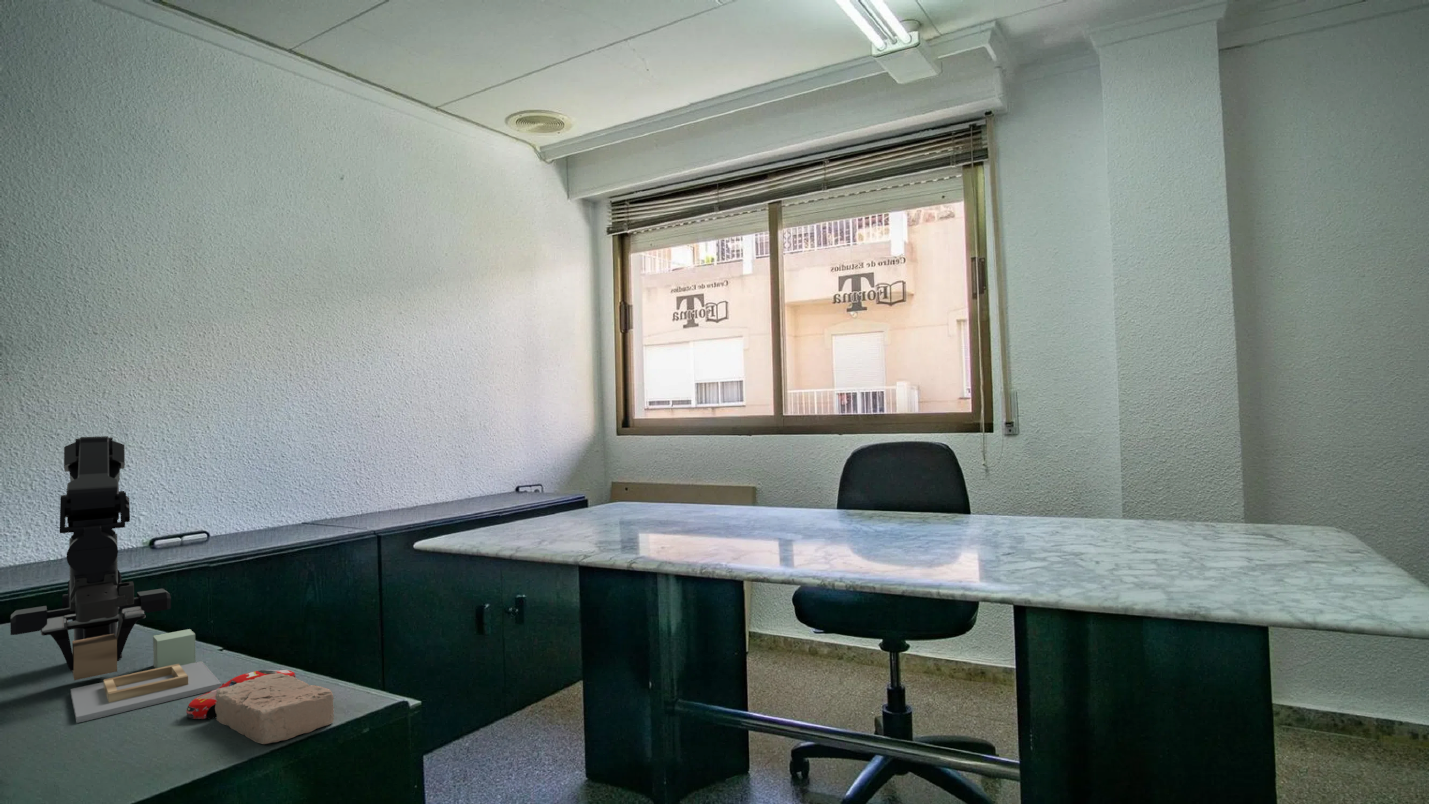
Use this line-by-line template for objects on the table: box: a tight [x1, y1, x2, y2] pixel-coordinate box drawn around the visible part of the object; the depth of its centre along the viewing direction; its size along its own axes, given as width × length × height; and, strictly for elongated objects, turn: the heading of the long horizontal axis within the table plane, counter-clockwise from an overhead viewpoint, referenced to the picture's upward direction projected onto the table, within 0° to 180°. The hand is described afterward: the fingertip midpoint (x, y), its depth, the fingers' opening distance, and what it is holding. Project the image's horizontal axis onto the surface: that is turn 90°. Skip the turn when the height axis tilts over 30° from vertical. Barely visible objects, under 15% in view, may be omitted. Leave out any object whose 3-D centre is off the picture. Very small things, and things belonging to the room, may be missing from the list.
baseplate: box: [70, 660, 222, 724], centre depth 105 cm, size 16×16×2 cm
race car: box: [185, 669, 297, 721], centre depth 98 cm, size 13×5×4 cm, turn 142°
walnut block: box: [71, 634, 118, 681], centre depth 111 cm, size 5×5×5 cm
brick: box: [215, 673, 335, 745], centre depth 92 cm, size 17×8×5 cm, turn 53°
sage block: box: [152, 628, 196, 669], centre depth 118 cm, size 5×5×5 cm
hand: (94, 665), depth 111 cm, fingers closed on walnut block, 5 cm apart
